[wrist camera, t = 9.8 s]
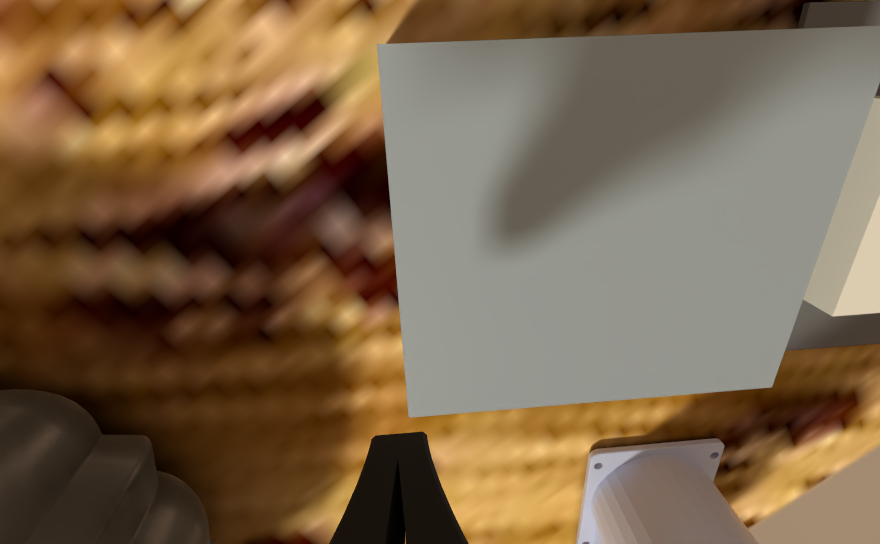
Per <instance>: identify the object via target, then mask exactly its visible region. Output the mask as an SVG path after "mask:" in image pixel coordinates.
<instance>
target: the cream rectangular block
mask: <svg viewBox="0 0 880 544" xmlns="http://www.w3.org/2000/svg"><path fill="white" fill-rule="evenodd" d="M803 300H805V301H807V302H808V303H810V304H812V305H814V306H815V307H817V308H819V309H820V310H822V311H824V312H826V313H827V314H829V315H831V316H832V317H833V316H846V315H858V314H871V313H880V96H875V97H874V100H873V103H872V106H871V109H870V112H869V114H868V117H867V120H866V123H865V126H864V128H863V131H862V134H861V137H860V140H859V143H858V145H857V148H856V151H855V154H854V157H853V160H852V162H851V165H850V168H849V171H848V174H847V177H846V179H845V182H844V185H843V188H842V191H841V194H840V196H839V199H838V202H837V205H836V208H835V211H834V213H833V216H832V219H831V222H830V225H829V227H828V230H827V233H826V236H825V239H824V242H823V244H822V247H821V250H820V253H819V256H818V259H817V261H816V264H815V267H814V270H813V273H812V276H811V278H810V281H809V284H808V287H807V290H806V293H805V295H804V298H803Z"/></svg>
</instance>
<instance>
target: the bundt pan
mask: <svg viewBox="0 0 880 544" xmlns="http://www.w3.org/2000/svg"><path fill="white" fill-rule="evenodd" d="M0 544H215V542H214V541H213V540H212V539H211V538H210V531H209V523H208V518H207V514H206V511H205V508H204V506H203V504H202V503H201V501H200V499H199V497H198V495H197V494H196V493H195V492H194V491H193V490H192V489H191V488H190V487H189V486H188V485H187V484H186V483H185V482H183V481H182V480H180V479H179V478H177V477H175V476H173V475H171V474H168V473H164V472H161V471H156V466H155V460H154V453H153V447H152V442H151V441H150V439H149V438H148V437H146V436H143V435H102V433H101V430H100V428H99V426H98V425H97V423H96V422H95V420H94V418H93V417H92V416H91V415H90V414H89V413H88V412H87V411H86V410H85V409H84V408H82V407H81V406H80V405H78V404H77V403H76V402H74V401H72V400H69V399H67V398H65V397H63V396H61V395H57V394H54V393H50V392H45V391H39V390H30V389H10V390H0Z"/></svg>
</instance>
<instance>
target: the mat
mask: <svg viewBox="0 0 880 544" xmlns="http://www.w3.org/2000/svg"><path fill="white" fill-rule="evenodd" d="M859 26H880V0H870V1H840V2H810V3H804V5H803V8H802V12H801V16H800V20H799V23H798V27H797V29H805V28H832V27H859ZM875 96H880V83H879V86H878V89H877V92H876V95H875ZM878 343H880V313H871V314H858V315H846V316H833V317H832V316H831V315H829V314H827V313H826V312H824V311H822V310H820V309H819V308H817V307H815V306H814V305H812V304H810V303H808V302H807V301H805V300H803V301H802V304H801V307H800V310H799V312H798V315H797V318H796V321H795V324H794V326H793V329H792V332H791V335H790V338H789V341H788V343H787V346H786V349H785V351H788V350H801V349H814V348H827V347H839V346H852V345H865V344H878Z"/></svg>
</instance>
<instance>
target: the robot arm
mask: <svg viewBox="0 0 880 544" xmlns="http://www.w3.org/2000/svg"><path fill="white" fill-rule="evenodd" d="M723 450H724V444H723V443H722V442H721V440H719V439H716V438H713V439H701V440H690V441H679V442H668V443H656V444H645V445H634V446H623V447H611V448H600V449H594V450H593V451H591V452H590V453H589V456H588V463H587V470H586V477H585V483H584V490H583V497H582V504H581V511H580V518H579V525H578V532H577V539H576V544H758V542H757V541H756V539H755V538H754V537H753V535H752V534H751V533H750V531H749V530H748V529H747V527H746V526H745V525H744V523H743V522H742V521H741V519H740V518H739V517H738V515H737V514H736V513H735V511H734V510H733V509H732V507H731V506H730V505H729V503H728V502H727V501H726V499H725V498H724V496H723V495H722V494H721V492H720V491H719V490H718V488H717V487H716V486H715V484H714V483H713V482H714V478H715V475H716V472H717V469H718V466H719V463H720V460H721V457H722V453H723ZM596 463H597V464H596ZM405 532H406V544H468V542H467V540H466V538H465V536H464V534H463V532H462V530H461V528H460V526H459V524H458V522H457V520H456V518H455V516H454V514H453V511H452V509H451V507H450V505H449V502H448V500H447V498H446V495H445V493H444V491H443V488H442V486H441V483H440V481H439V478H438V476H437V473H436V470H435V467H434V464H433V461H432V457H431V454H430V450H429V445H428V440H427V435H426V434H425V433H424V432H414V433H402V434H390V435H378V436H375V437H374V438H373V439H372V440H371V444H370V448H369V452H368V455H367V458H366V461H365V464H364V467H363V470H362V472H361V475H360V477H359V480H358V483H357V485H356V487H355V490H354V492H353V494H352V497H351V499H350V501H349V504H348V506H347V508H346V511H345V513H344V515H343V517H342V519H341V521H340V523H339V525H338V527H337V529H336V531H335V533H334V535H333V537H332V539H331V541H330V543H329V544H405Z"/></svg>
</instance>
